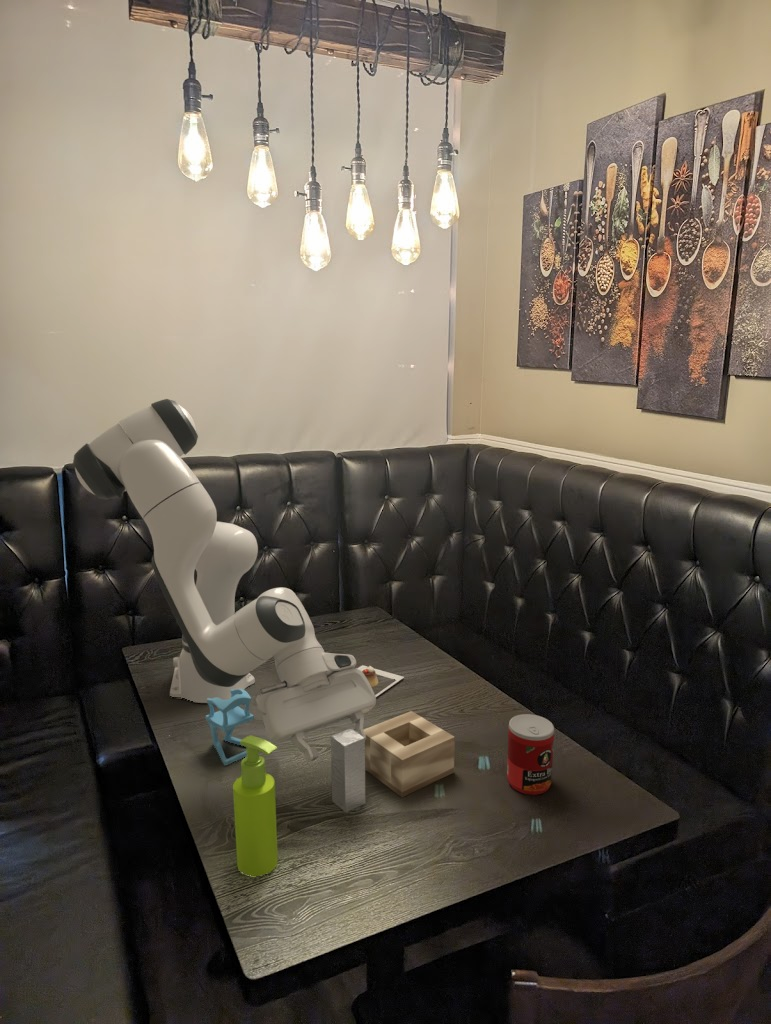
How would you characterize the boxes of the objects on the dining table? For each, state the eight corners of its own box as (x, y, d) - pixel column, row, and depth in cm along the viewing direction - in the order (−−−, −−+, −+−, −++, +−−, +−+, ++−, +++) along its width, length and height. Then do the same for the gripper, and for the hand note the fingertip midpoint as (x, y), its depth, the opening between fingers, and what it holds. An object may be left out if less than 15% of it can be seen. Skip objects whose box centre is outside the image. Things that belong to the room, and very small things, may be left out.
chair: (236, 734, 139) (233, 678, 136) (261, 750, 133) (258, 691, 130) (202, 749, 133) (198, 691, 131) (225, 766, 128) (222, 705, 125)
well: (360, 765, 128) (360, 730, 126) (411, 744, 135) (411, 710, 133) (402, 797, 118) (402, 760, 117) (453, 772, 126) (454, 736, 124)
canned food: (525, 800, 117) (528, 741, 115) (497, 776, 124) (499, 719, 122) (561, 788, 121) (564, 730, 119) (531, 765, 128) (534, 709, 125)
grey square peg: (332, 800, 118) (330, 735, 115) (351, 792, 120) (350, 728, 117) (345, 812, 114) (344, 746, 112) (365, 803, 117) (364, 737, 114)
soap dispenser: (264, 886, 98) (259, 757, 94) (228, 867, 102) (221, 743, 98) (291, 861, 103) (287, 737, 99) (256, 844, 107) (250, 725, 103)
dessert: (332, 688, 159) (331, 668, 158) (362, 669, 169) (362, 650, 168) (375, 702, 153) (375, 681, 152) (404, 681, 163) (404, 662, 162)
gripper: (257, 682, 113) (289, 764, 107) (361, 653, 125) (394, 725, 119) (246, 698, 117) (275, 777, 112) (347, 668, 130) (378, 738, 124)
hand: (337, 750), depth 116 cm, fingers open, 8 cm apart
